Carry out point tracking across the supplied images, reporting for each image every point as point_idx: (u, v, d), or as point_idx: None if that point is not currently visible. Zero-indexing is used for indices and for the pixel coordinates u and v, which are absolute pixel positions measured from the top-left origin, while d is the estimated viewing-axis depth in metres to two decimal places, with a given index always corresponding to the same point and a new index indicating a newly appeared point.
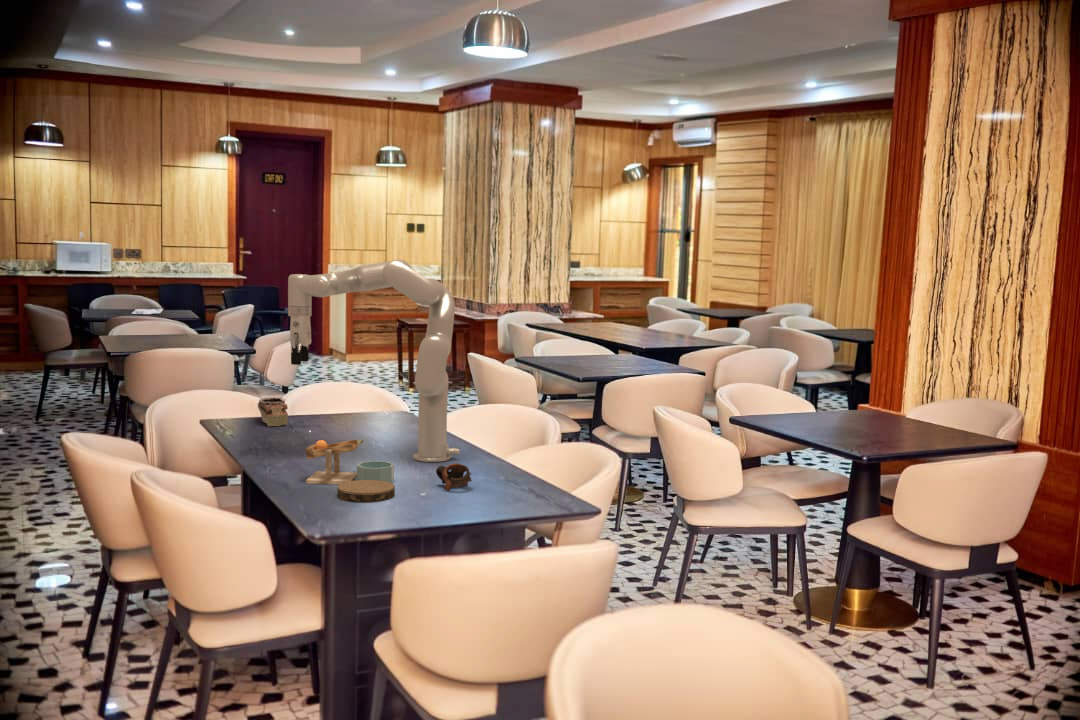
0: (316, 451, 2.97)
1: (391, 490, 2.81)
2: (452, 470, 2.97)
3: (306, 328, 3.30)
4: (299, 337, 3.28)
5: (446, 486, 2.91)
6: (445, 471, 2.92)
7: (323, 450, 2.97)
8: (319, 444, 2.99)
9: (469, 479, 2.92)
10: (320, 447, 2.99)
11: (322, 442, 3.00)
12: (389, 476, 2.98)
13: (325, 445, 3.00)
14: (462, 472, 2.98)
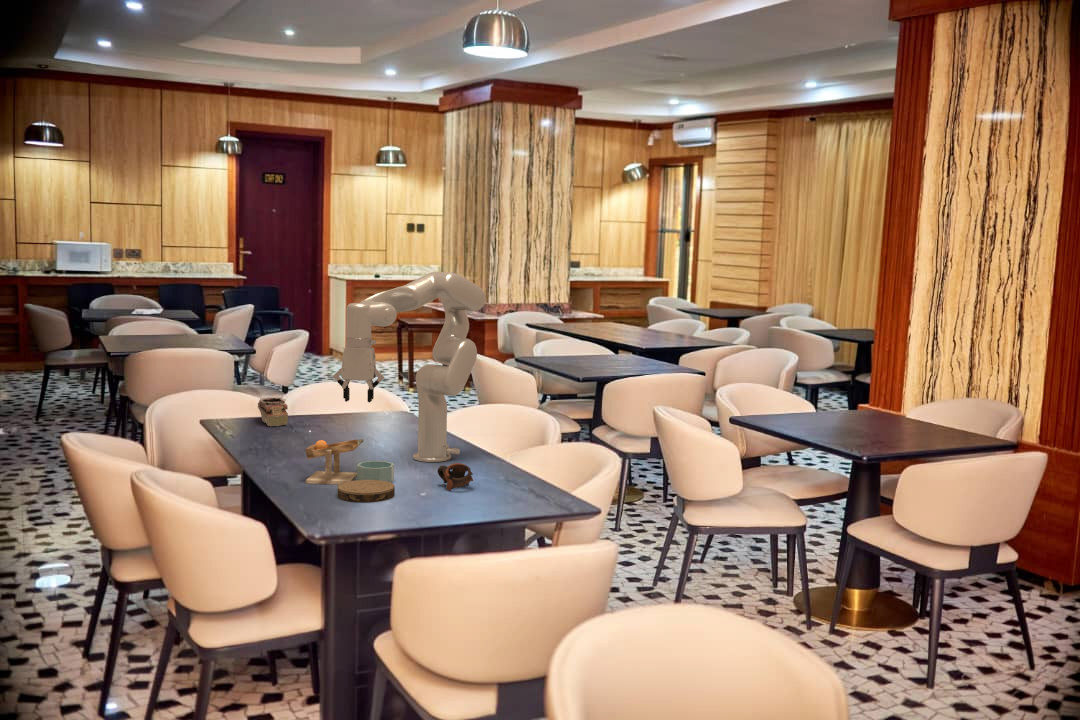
0: (316, 451, 2.97)
1: (391, 490, 2.81)
2: (453, 470, 2.98)
3: None
4: None
5: (448, 486, 2.91)
6: (447, 471, 2.92)
7: (323, 450, 2.97)
8: (319, 444, 2.99)
9: (471, 479, 2.93)
10: (320, 447, 2.99)
11: (322, 442, 3.00)
12: (389, 476, 2.98)
13: (325, 445, 3.00)
14: (463, 472, 2.98)
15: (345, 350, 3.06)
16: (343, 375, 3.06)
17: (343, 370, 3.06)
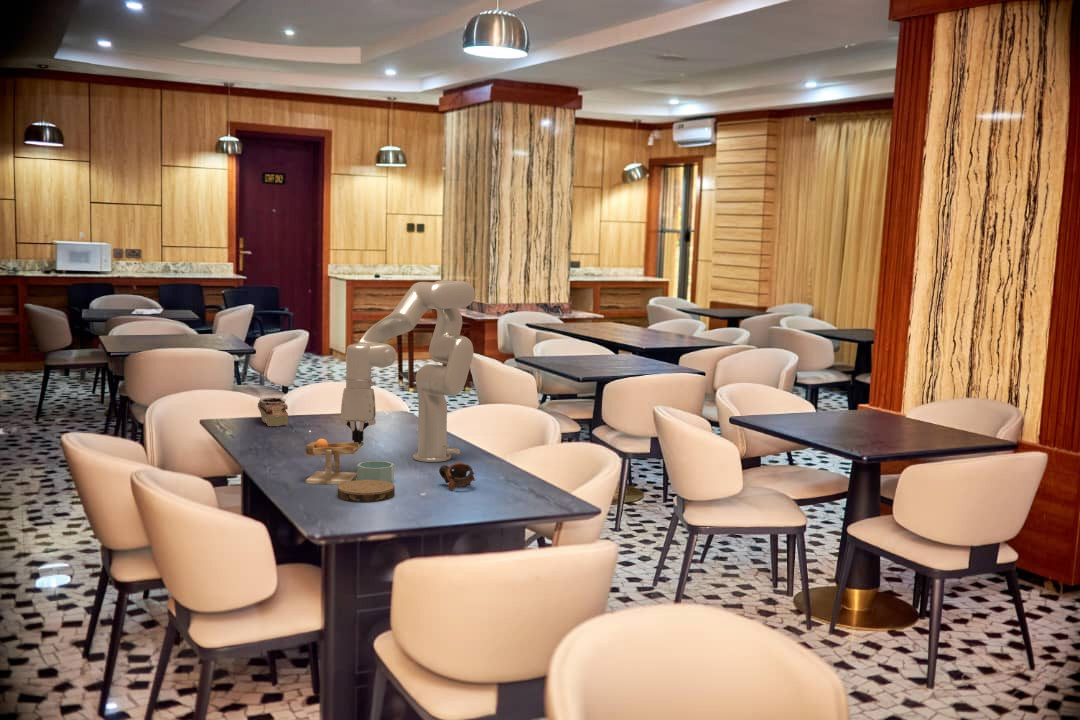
0: (316, 449, 2.97)
1: (391, 490, 2.81)
2: (455, 469, 2.98)
3: None
4: (375, 410, 3.10)
5: (449, 485, 2.92)
6: (448, 470, 2.93)
7: (323, 449, 2.97)
8: (320, 443, 2.99)
9: (472, 478, 2.93)
10: (321, 446, 2.99)
11: (323, 441, 3.00)
12: (389, 476, 2.98)
13: (326, 444, 3.00)
14: (465, 471, 2.99)
15: (345, 391, 3.07)
16: (343, 416, 3.08)
17: (343, 411, 3.07)
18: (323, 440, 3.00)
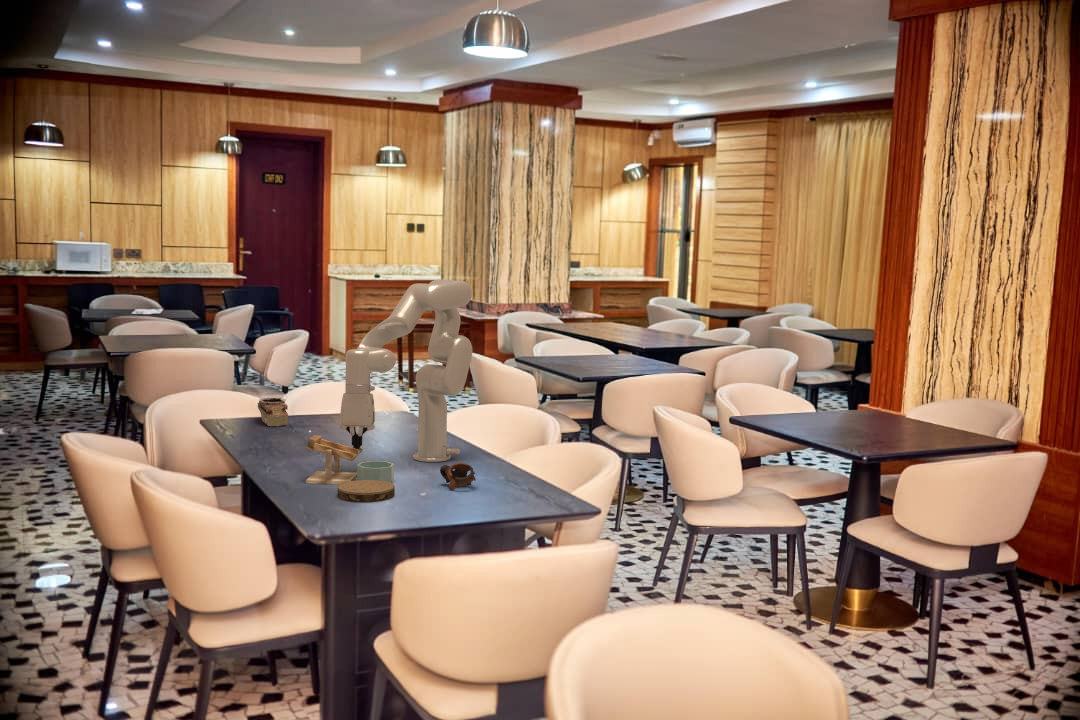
0: (318, 445, 2.97)
1: (391, 490, 2.81)
2: (456, 469, 2.98)
3: None
4: (374, 415, 3.10)
5: (450, 485, 2.92)
6: (449, 470, 2.93)
7: (324, 447, 2.97)
8: None
9: (473, 478, 2.93)
10: None
11: None
12: (389, 476, 2.98)
13: None
14: (466, 471, 2.99)
15: (344, 396, 3.07)
16: (342, 421, 3.08)
17: (342, 416, 3.08)
18: None
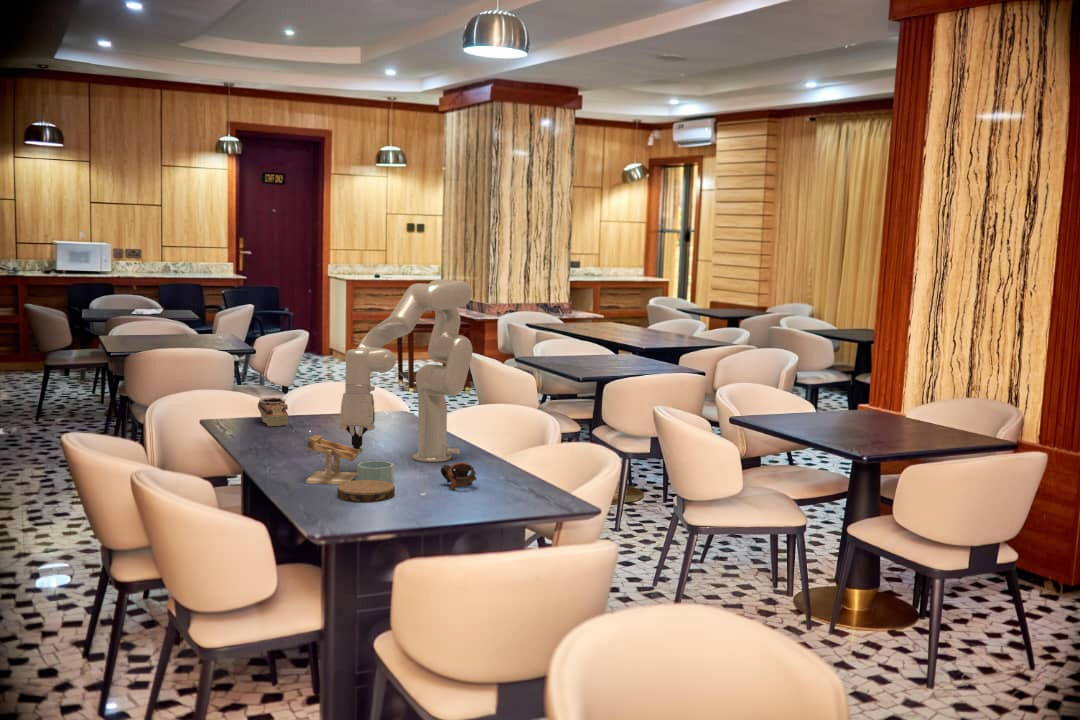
0: (318, 445, 2.97)
1: (391, 490, 2.81)
2: (457, 469, 2.99)
3: None
4: (374, 415, 3.10)
5: (451, 485, 2.92)
6: (450, 470, 2.93)
7: (324, 447, 2.97)
8: None
9: (474, 478, 2.94)
10: None
11: None
12: (389, 476, 2.98)
13: None
14: (466, 471, 2.99)
15: (344, 396, 3.07)
16: (342, 421, 3.08)
17: (342, 416, 3.08)
18: None
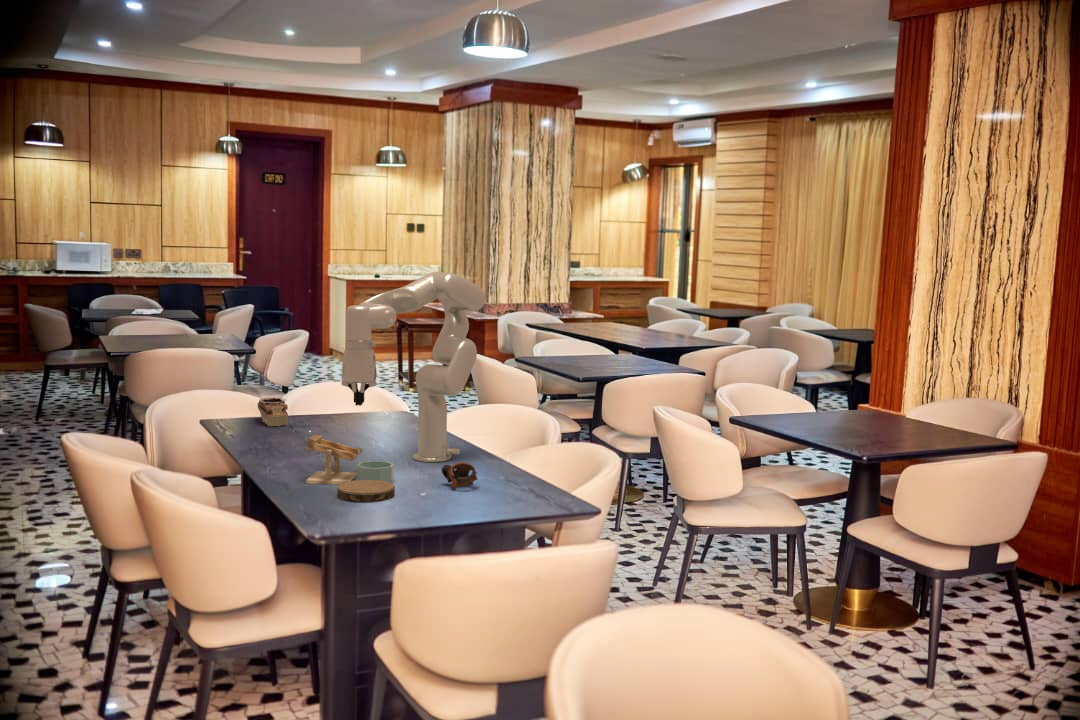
0: (318, 445, 2.97)
1: (391, 490, 2.81)
2: (457, 469, 2.99)
3: None
4: (376, 372, 3.09)
5: (452, 485, 2.92)
6: (451, 470, 2.93)
7: (324, 447, 2.97)
8: None
9: (475, 478, 2.94)
10: None
11: None
12: (389, 476, 2.98)
13: None
14: (467, 471, 3.00)
15: (345, 352, 3.06)
16: (343, 377, 3.07)
17: (343, 372, 3.06)
18: None
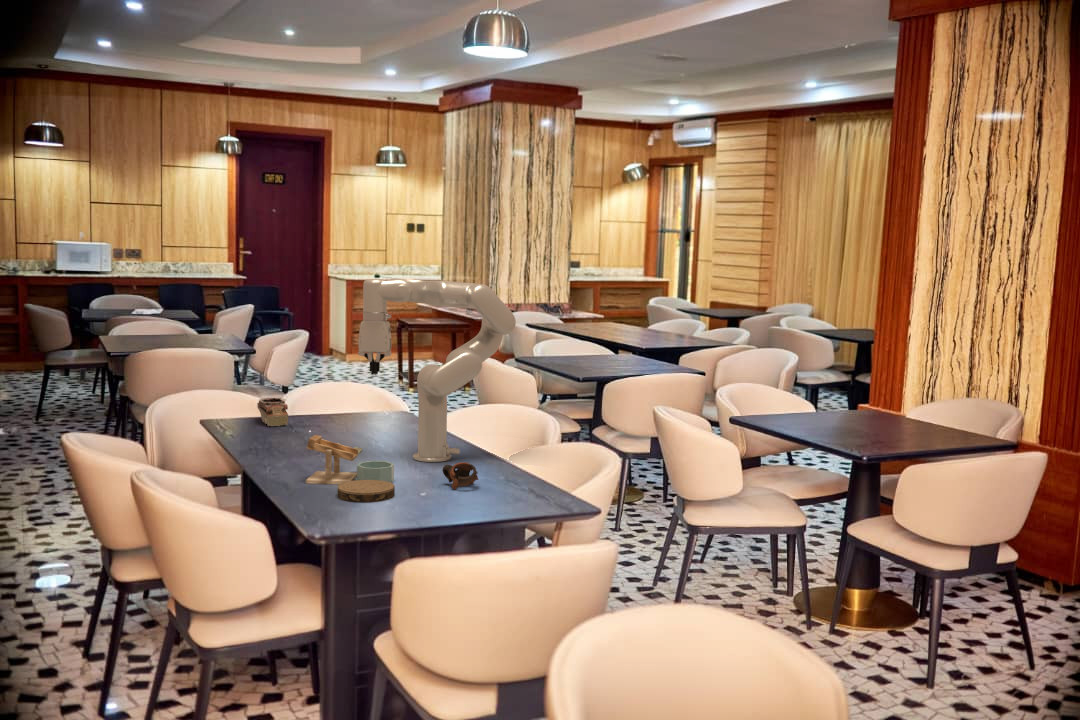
0: (318, 445, 2.97)
1: (391, 490, 2.81)
2: (458, 469, 2.99)
3: None
4: None
5: (453, 485, 2.93)
6: (452, 470, 2.94)
7: (324, 447, 2.97)
8: None
9: (476, 478, 2.94)
10: None
11: None
12: (389, 476, 2.98)
13: None
14: (468, 471, 3.00)
15: (362, 324, 3.22)
16: (360, 347, 3.22)
17: (360, 343, 3.22)
18: None
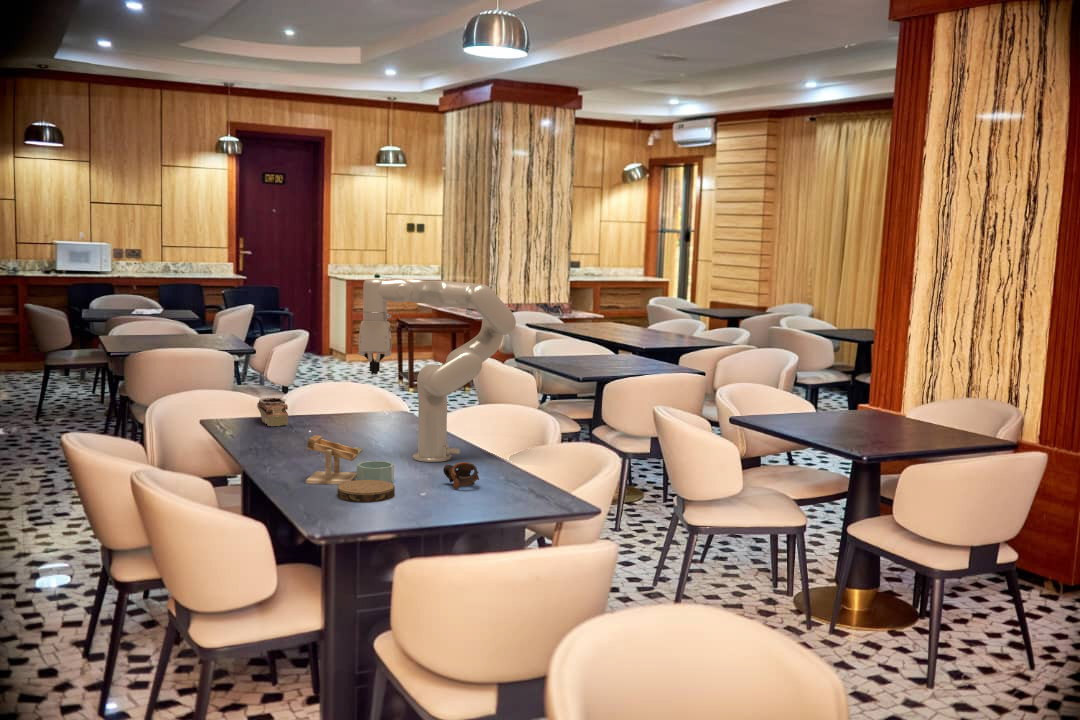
0: (318, 445, 2.97)
1: (391, 490, 2.81)
2: (459, 469, 2.99)
3: None
4: None
5: (454, 485, 2.93)
6: (453, 470, 2.94)
7: (324, 447, 2.97)
8: None
9: (477, 478, 2.94)
10: None
11: None
12: (389, 476, 2.98)
13: None
14: (469, 471, 3.00)
15: (362, 323, 3.22)
16: (360, 347, 3.23)
17: (360, 342, 3.22)
18: None
